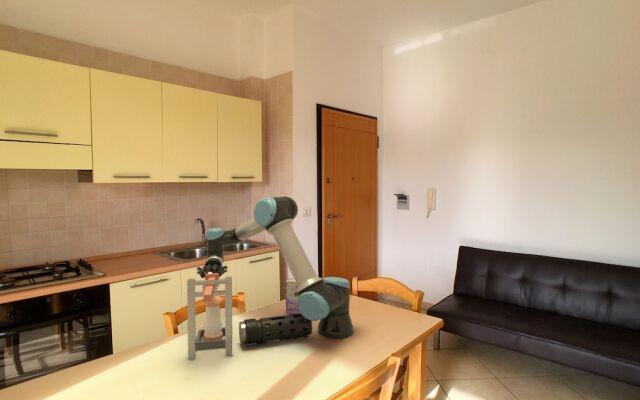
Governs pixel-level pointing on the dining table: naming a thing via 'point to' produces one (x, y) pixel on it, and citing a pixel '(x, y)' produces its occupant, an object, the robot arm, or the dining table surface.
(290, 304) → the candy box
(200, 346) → the grey shallow square frame
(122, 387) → the dining table surface
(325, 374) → the dining table surface
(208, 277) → the bar
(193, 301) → the frame
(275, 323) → the muzzle brake
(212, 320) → the pepper shaker
